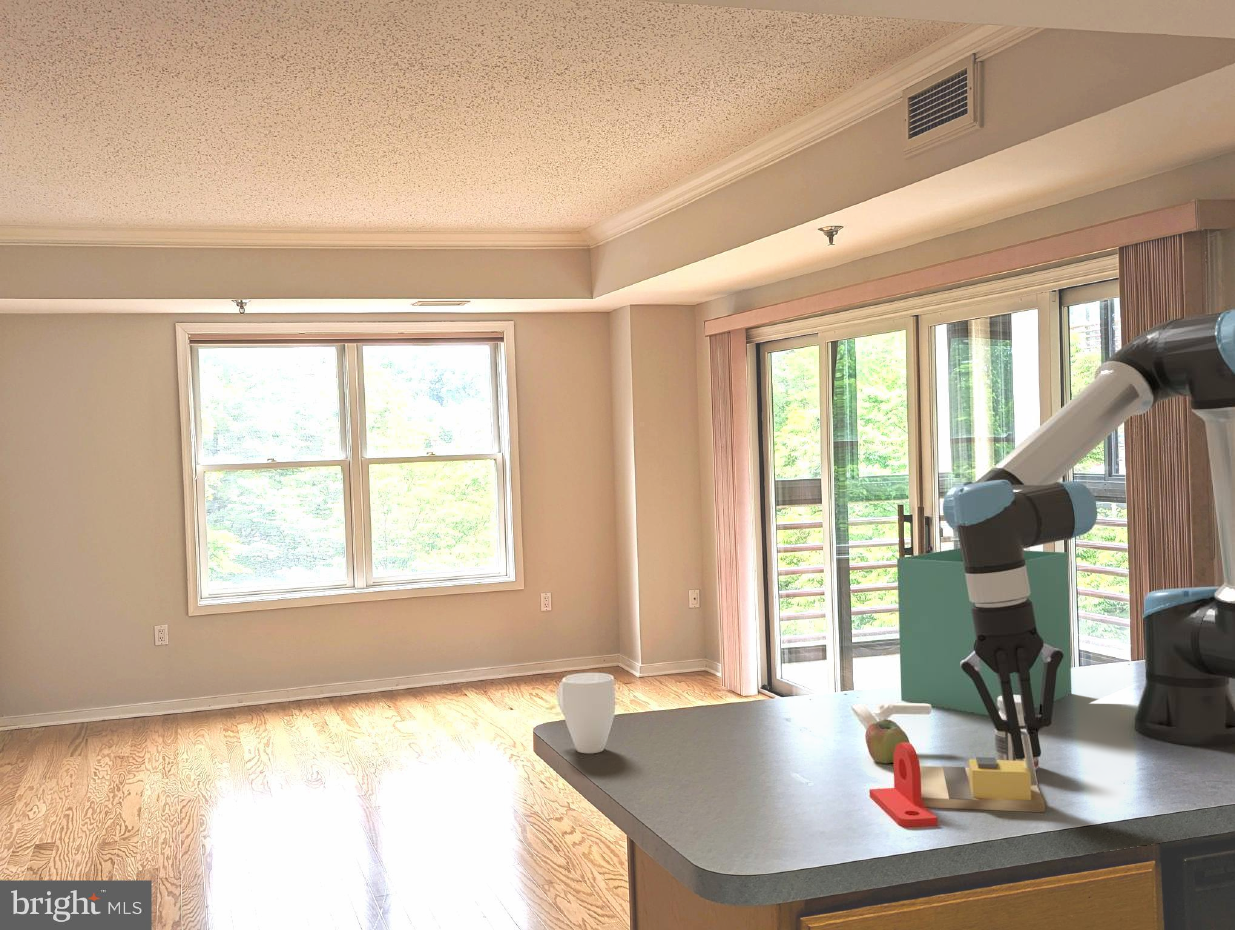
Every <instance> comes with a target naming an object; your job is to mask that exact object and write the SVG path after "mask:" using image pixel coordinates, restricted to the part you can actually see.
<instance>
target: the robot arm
mask: <svg viewBox="0 0 1235 930" xmlns="http://www.w3.org/2000/svg"><path fill="white" fill-rule="evenodd" d="M1179 397H1189V401H1190V408H1191V411H1192V413H1194V414H1196V416H1197V417H1199V418H1201V419H1202V420H1203V421H1204V424H1205V425H1204V426H1205V432H1206V433H1205V434H1206V441H1207V449H1208V450H1207V451H1208V456H1209V457H1208V458H1209V459H1208V460H1209V466H1210V474H1211V481H1212V489H1213V498H1214V499H1213V500H1214V506H1215V514H1216V522H1217V528H1218V529H1217V530H1218V540H1219V547H1220V548H1219V549H1220V553H1221V562H1222V563H1221V564H1222V570H1223V579H1224V583H1223V584H1222V585H1221V586H1196V587H1181V588H1180V587H1179V588H1178V587H1177V588H1166V589H1157V590H1153V591H1150V592H1148V593H1147V594H1146V596H1145V597H1144V599H1143V602H1144V604H1143V615H1142V620H1143V621H1142V623H1143V625H1142V626H1143V646H1144V666H1145V667H1144V669H1145V685H1144V688H1143V690H1142V693H1141V696H1140V699H1139V703H1138V706H1137V708H1136V711H1135V715H1134V730H1135V731H1136V732H1137V733H1138V734H1139V735H1140V736H1143V737H1144V738H1145V737H1146V738H1149V739H1152V740H1154V741H1155V740H1156V741H1160V742H1165V743H1169V744H1175V745H1184V746H1196V747H1197V746H1198V747H1221V746H1222V747H1223V746H1229V745H1230V746H1231V745H1234V744H1235V699H1234V696H1233V693H1232V691H1231V686H1230V685H1231V684H1230V679H1234V680H1235V308H1233V309H1230V310H1227V311H1226V310H1225V311H1220V312H1214V313H1207V314H1201V315H1195V316H1189V317H1181V318H1180V317H1179V318H1174V319H1170V320H1167V321H1164V322H1162V323H1159V324H1157V325H1154V326H1153V327H1151V328H1149V329H1147V330H1146V331H1144V332H1142V333H1141V334H1139V335H1138V336H1136V337H1135V338H1133V339H1132V340H1130V341H1129V342H1128V343H1126V344H1125V345H1123V346H1122V347H1121V348H1119V349H1118V350H1117V351H1116V352H1115V353H1113V354H1112V355H1111V356H1110V357H1108V358H1107V359H1106V360H1105V361H1104V362H1103V363H1102V364H1100V365H1099V366H1098V367H1097V369H1096V371H1095V373H1094V380H1092V381H1091V382H1090V383H1089V384H1088V385H1086V387H1084V388H1083V389H1082V390H1081V391H1079V393H1077V394H1076V395H1075V396H1074V397H1073V398H1071V400H1069V401H1068V402H1067V403H1065V405H1063V406H1062V407H1061V408H1059V410H1058V411H1056V412H1055V413H1054V414H1053V415H1052V416H1051V417H1049V418H1048V419H1047V420H1046V421H1045V422H1044V423H1042V425H1040V426H1039V427H1038V428H1037V429H1036V430H1035V431H1033V432H1032V434H1030V435H1029V436H1028V437H1027V438H1025V439H1024V440H1023V441H1022V442H1021V443H1020V444H1019V445H1017V446H1016V447H1015V448H1014V449H1013V450H1011V451H1010V452H1009V453H1008V454H1007V455H1006V456H1004V457H1003V458H1002V459H1001V460H1000V461H999V462H998V463H997V464H995V466H993V467H992V468H990V470H988V471H987V472H986V473H984V474H983V476H981V477H979V478H978V479H977V480H976V481H975V482H972V481H968V482H964V483H959V484H956V485H954V486H952V487H951V488H950V489H949V490H948V491H947V492H946V494H945V496H944V499H943V503H942V515H943V517H944V520H945V523H946V524H947V525H948V527H950V528H951V529H952V530H953V531H955V532H956V533H957V537H958V541H959V543H958V544H959V548H961V553H962V558H963V564H964V569H965V576H966V582H967V588H968V594H969V600H970V601H971V602H972V603H975V605H973V607H972V608H971V611H972V617H973V623H974V629H975V635H976V641H975V644H974V652H973V653H972V654H971V655H969V656H968V657H967V658H966V659H962V660H961V661H960V666H961V668H962V670H963V671H964V672H965V673H966V674H967V675H968V676H969V677H970V678H971V679H972V680H973V682H974V684H975V686H976V688H977V690H978V692H979V695H980V697H981V699H982V701H983V703H984V705H985V707H986V709H987V711H988V713H989V718H990V720H991V722H992V723H993V725H994V729H995V728H996V730H997V731H999V732H1002V731H1003V732H1007V733H1009V734H1010V737H1011V742H1012V747H1013V752H1014V754H1015V756H1016V758H1017V759H1021V758H1023V759H1024V764H1025V766H1026V768H1027V769H1028V770H1030V774H1031V786H1034V785H1037V786H1039V784H1038V779H1037V773H1036V770H1035V766H1034V761H1033V757H1038V758H1040V757H1041V756H1042V750H1041V744H1040V737H1039V731H1040V730H1041V729H1043V728H1045V727H1050V726H1051V725H1052V719H1053V708H1054V702H1055V701H1054V693H1055V684H1056V674H1057V668H1058V667H1059V665H1060V663H1061V661H1062V659H1063V656H1064V655H1063V653H1062V652H1061V651H1060V650H1059V649H1058V648H1056V647H1051V646H1049V645H1047V644H1044V642H1043V639H1042V638H1041V637H1040V635H1039V634H1038V632H1037V627H1036V622H1035V616H1034V610H1033V604H1032V601H1030V600H1029V599H1027V598H1026V597H1028V596H1029V595H1030V593H1031V592H1030V587H1029V581H1028V576H1027V570H1026V565H1025V558H1024V551H1025V550H1024V549H1028V548H1031V547H1037V546H1042V545H1047V544H1052V543H1055V542H1060V541H1065V540H1067V541H1070V540H1072V539H1074V538H1077V537H1080V536H1083V535H1086V534H1087V533H1089V532H1091V530H1093V528H1094V526H1095V525H1096V523H1097V519H1098V511H1097V510H1098V507H1097V501H1096V498H1095V496H1094V494H1093V493H1092V492H1091V490H1090V489H1089V488H1088V487H1087V486H1086V485H1085V484H1083V483H1081V482H1079V481H1076V480H1067V481H1060V479H1062V478H1063V477H1064V476H1065V475H1066V474H1067V473H1069V471H1071V470H1072V469H1073V468H1074V467H1075V466H1077V464H1078V463H1080V462H1081V461H1082V460H1083V459H1084V458H1086V456H1087V455H1089V454H1090V453H1091V452H1092V451H1093V450H1094V449H1096V448H1097V447H1098V446H1099V445H1100V444H1101V443H1102V442H1103V441H1105V440H1106V439H1107V438H1108V437H1109V436H1110V435H1111V434H1112V433H1114V432H1115V431H1116V430H1118V428H1120V427H1121V426H1122V425H1123V424H1124V423H1125V422H1126V421H1127V420H1128V419H1130V418H1131V417H1132V416H1140V415H1143V414H1145V413H1147V412H1148V411H1149V410H1150V409H1151V408H1153V407H1154V406H1155V405H1157V404H1159V403H1161V402H1164V401H1166V400H1169V399H1170V400H1171V399H1174V398H1179ZM1040 652H1042V659H1043V661H1044V667H1043V676H1042V685H1041V694H1040V704H1039V707H1038V713H1037V714H1038V715H1036V710H1035V709H1036V708H1035V709H1034V702H1033V696H1032V689H1031V682H1030V672H1029V670H1030V669H1031V668H1032V666H1033V664H1034V663H1035V661H1036V659H1037V657H1038V655H1039V653H1040ZM979 659H981V660H982V661H983V662H984V663H985V664H986V665H987V666H988V667H989V668H991V669H992V670H993V671H994V672H995V673H997V676H998V679H999V684H1000V689H1001V694H1002V700H1003V705H1004V710H1005V715H1006V720H1003V719H1002V718H1001V716H1000V714H999V712H998V710H997V708H996V706H995V704H994V702H993V700H992V697H991V695H990V693H989V691H988V689H987V687H986V685H985V683H984V681H983V679H982V677H981V675H980V673H979V671H980V669H981V666H980V664H979ZM1014 672H1015V673H1017V677H1018V684H1019V690H1020V697H1021V704H1022V710H1023V717H1024V724H1025V727H1026V729H1020V727H1019V722H1018V716H1017V711H1016V706H1015V701H1014V696H1013V691H1012V686H1011V679H1010V674H1011V673H1014Z"/></svg>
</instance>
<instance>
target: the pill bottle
mask: <svg viewBox="0 0 1235 930" xmlns="http://www.w3.org/2000/svg"><path fill="white" fill-rule="evenodd" d="M1013 696H1014V701H1015V706H1016V711H1017V716H1018V722H1019V727H1020V729H1026V727H1025V724H1024V717H1023V710H1022V704H1021V697H1020V695H1013ZM997 700H998V701H997V705H998V707H999V708H1000V711H999V714H1000V716H1001V718H1002V719H1003V720H1006V715H1005V710H1004V705H1003V700H1002V696H999V697H998V698H997ZM994 738H995V739H994V741H995V743H994V744H995V759H996V760H1009V761H1024V759H1023V758H1021V759H1017V758H1016V756H1015V754H1014V752H1013V747H1012V742H1011V737H1010V734H1009V733H1007V732H1003V731H1002V732H999V731H997V730H996V728H995V727H994ZM1033 761H1034V766H1035V771H1036V770H1038V769H1039V765H1040V764H1039V757H1033Z"/></svg>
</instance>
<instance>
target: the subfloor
mask: <svg viewBox="0 0 1235 930" xmlns="http://www.w3.org/2000/svg"><path fill="white" fill-rule="evenodd" d="M920 772H921V798H922V802H923V805H924V806H925V807H926V808H935V809H936V808H937V809H938V808H940V809H958V810H959V809H960V810H961V809H962V810H963V809H964V810H980V811H981V810H983V811H1007V812H1008V811H1009V812H1025V813H1026V812H1029V813H1030V812H1033V813H1046V802H1045V800H1044V798H1043V796H1042V793H1041V791H1040V789H1039V787H1038V785H1034V786H1031V800H1022V799H997V798H973V795H972V791H971V788H970V778H969V767H966V766H946V765H945V766H944V765H943V766H933V765H920Z"/></svg>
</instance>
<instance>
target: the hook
mask: <svg viewBox="0 0 1235 930" xmlns="http://www.w3.org/2000/svg"><path fill="white" fill-rule="evenodd" d="M851 710H852V712H853V714H854V715H855V716H856V717H857V719H858V721H859V722H860V724H861V725H862V726H863V727H864V729H865V731H866V730H867V728H868V727H869V726H870V725H871V724H873V723H876V722H878V721H881V720H885V719H886V720H889V718H890V717H891V716H893V715H931V713H932V706H931V705H930V704H925V703H914V702H884V703H880V705H878V706H877V707H876V708H875V709H874V710H873V713H874V714H873V713H872V712H871V711H870V709H868V707H867V706H866V705H865V704H863V703H859V704H854V705H852V706H851ZM877 719H878V720H877Z"/></svg>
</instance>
